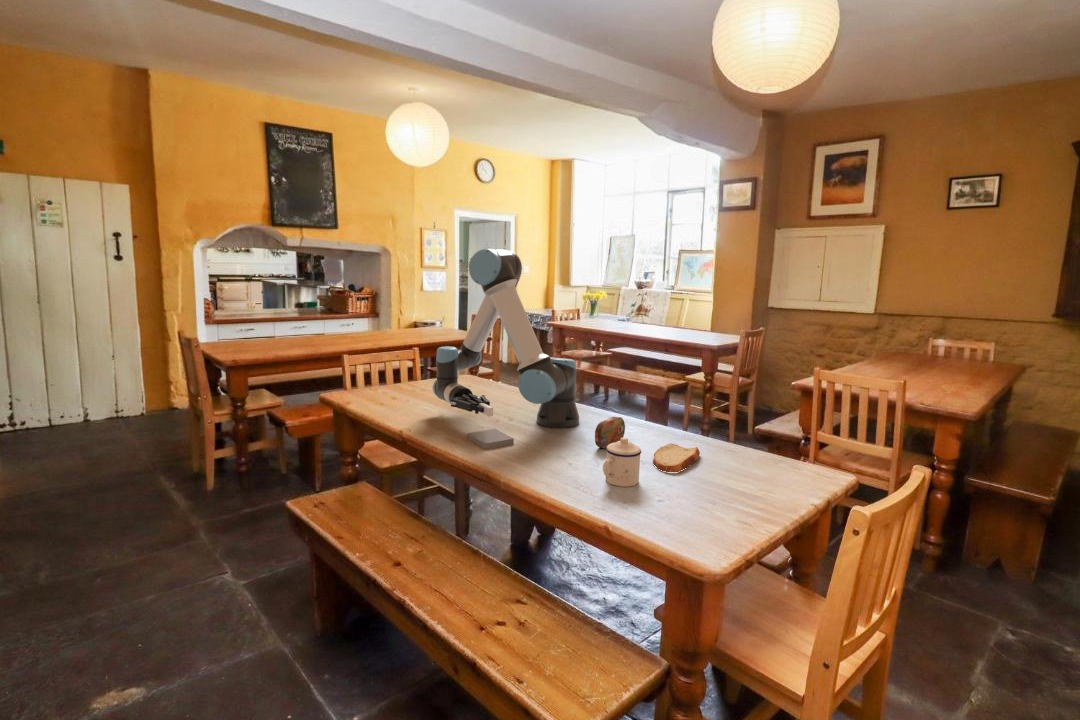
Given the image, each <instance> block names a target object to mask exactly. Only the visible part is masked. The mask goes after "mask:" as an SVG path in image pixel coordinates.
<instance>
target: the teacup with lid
mask: <svg viewBox="0 0 1080 720" xmlns="http://www.w3.org/2000/svg"><path fill="white" fill-rule="evenodd" d="M605 451H606V460H604V462H603V463H602V464H603V466H602V472H603V474H604V475H605V481H606V482H607V483H608V484H610V485H612V486H616V487H623V488H628V487H634V486H636V485H638V484H639V483H640V482H639V481H640V466H641V465H640V464H641V455H642V449H641V447H640V446H639V445H637V444H635V443H632V442H631V441H629V439H628V437H623V438H621V439H620V441H618V442H615V443H611V444H609V445H608V446H607V448H606V449H605Z"/></svg>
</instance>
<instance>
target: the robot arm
mask: <svg viewBox="0 0 1080 720" xmlns="http://www.w3.org/2000/svg"><path fill="white" fill-rule="evenodd" d="M522 271H523V265H522V261H521V258H520V257H519V255H518V254H517V253H515V252H514V251H512V250H510V249H507V248H506V249H505V248H503V249H500V248H499V249H498V248H491V247H488V248H482V249H479V250H477V251H476V252H474V253H473V255H472V256H471V258H470V262H469V264H468V272H469V276H470V278H471V280H472V281H473V282H474V283H476V284H477V285H478V286H480V287H481V288H482V291H483V293H484V297H483V300H482V302H481V304H480V306H479V308H478V310H477V313H476V315H475V317H474V319H473V321H472V323H471V325H470V328H469V329H468V331H467V334H466V335H465V338H464V340H463V342H462V344H461V346H460V348H459V349H458V348H457V347H455V346H451V345H450V346H449V345H448V346H447V345H445V346H440V347H438V348H437V349H436V357H435V358H436V359H435V361H436V380H435V381H434V382H433V384H432V391H433V395H435V396H436V397H437V398H438V399H440V400H442V401H445V402H446V403H449V405H450V407H451V408H457V409H461V410H464V411H467V412H470V413H471V412H473V411H474V414H480V413H481V414H482V415H485V416H486V417H494V407H493V406H491V404H490V403H491V402H490V400H489V399H488V398H487V397H486V395H485V394H482V395H480V396H478V395H475V394H474V393H473V391H472V390H471V389H470V388H468V387H466V386H464V385H462V384H459V371H462V370H465V369H469V368H470V369H471V368H473V367H476V366H479V364H480V363H481V362H482V359H483V357H482V355H483V354H482V350H483V348H484V346H485V345H486V342H487V340H488V338H489V336H490V335H491V333H492V330H493V328H494V326H495V323H496V322H497V320H498V317H499V319H500V321H501V323H502V326H503V328H504V330H505V333H506V335H507V338H508V340H509V342H510V344H511V347H512V349H513V352H514V354H515V356H516V359H517V361H518V367H517V369H516V370H517V373H518V375H519V378H518V383H517V384H518V390H519V393H520V394H521V396H522V397H523V399H525V400H526V401H527V402H529V403H531V404H534V405H535V404H536V405H539V408H538V411H537V414H536V422H537V424H539V425H541V426H542V427H543V426H544V427H547V428H555V429H556V428H557V429H558V428H560V429H565V428H572V427H576V426H578V425H579V423H580V414H579V411H578V407H577V403H576V387H577V386H576V385H577V383H576V382H577V370H578V369H577V362H576V360H574V359H571V358H562V357H551V356H550V355H548V354H547V353H544V352H543V349H542V347H541V345H540V342H539V340H538V337H537V335H536V333H535V331H534V329H533V327H532V323H531V322H530V319H529V317H528V315H527V312H526V310H525V307H524V306H523V302H522V301H521V298H520V296H519V294H518V290H517V289H516V287H517V286H518V284H519V281H520V279H521V276H522Z"/></svg>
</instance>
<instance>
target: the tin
mask: <svg viewBox="0 0 1080 720" xmlns="http://www.w3.org/2000/svg"><path fill="white" fill-rule="evenodd" d="M625 432H626V424H625V420H624V418H623V417H620V416H612V417H609V418H607V419H604V420H602V421H600V422H599V423H598V424H597V426H596V427H595V430H594V441H595V445H596V447H598V448H600V449H605V450H606V448H607V446H608V445H609V444H611V443H615V442H618V441H620V439H621V438H624V435H625Z"/></svg>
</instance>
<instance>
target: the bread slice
mask: <svg viewBox="0 0 1080 720" xmlns="http://www.w3.org/2000/svg"><path fill="white" fill-rule="evenodd" d="M700 454H701V452H700V450H699V447H697V446H695V447H689V448H687V447H683V446H680V445H678V444H676V443H675V444H674V443H669V444H666V445H663V446H660V447H659V448H657V450H655V452H654V454H653V457H654V458H652V465H653V464H654V465H655V466H656V467H657V468H658V469H660V470H662V471H666V472H679V471H681V470H683V469H685V468H687V467H688V466H689V465H691V464H692V463H693V464H694V463H695V462H696V461H698V459H699V457H700ZM693 464H692V465H693ZM654 465H653V466H654ZM692 465H691V466H692ZM655 466H654V467H655ZM689 467H690V466H689ZM689 467H688V468H689ZM657 468H656V469H657ZM688 468H687V469H688ZM658 469H657V470H658ZM660 470H659V471H660ZM685 470H686V469H685ZM662 471H661V472H662Z"/></svg>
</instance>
